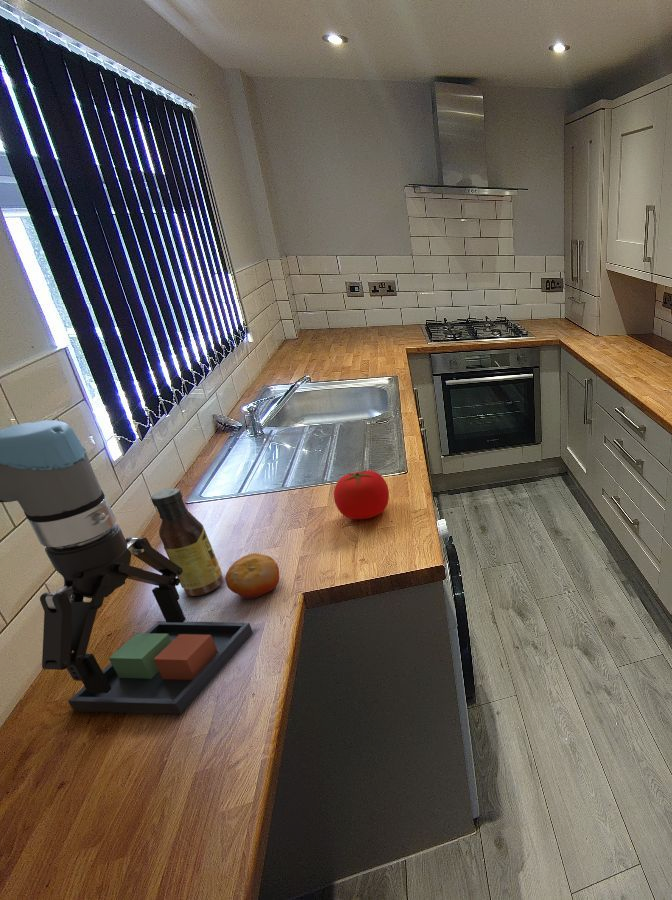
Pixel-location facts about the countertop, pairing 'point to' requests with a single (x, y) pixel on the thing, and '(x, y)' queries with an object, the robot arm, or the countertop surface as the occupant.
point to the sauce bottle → (187, 544)
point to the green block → (139, 655)
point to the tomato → (361, 494)
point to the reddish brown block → (185, 656)
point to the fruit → (252, 575)
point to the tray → (159, 691)
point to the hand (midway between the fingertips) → (141, 653)
